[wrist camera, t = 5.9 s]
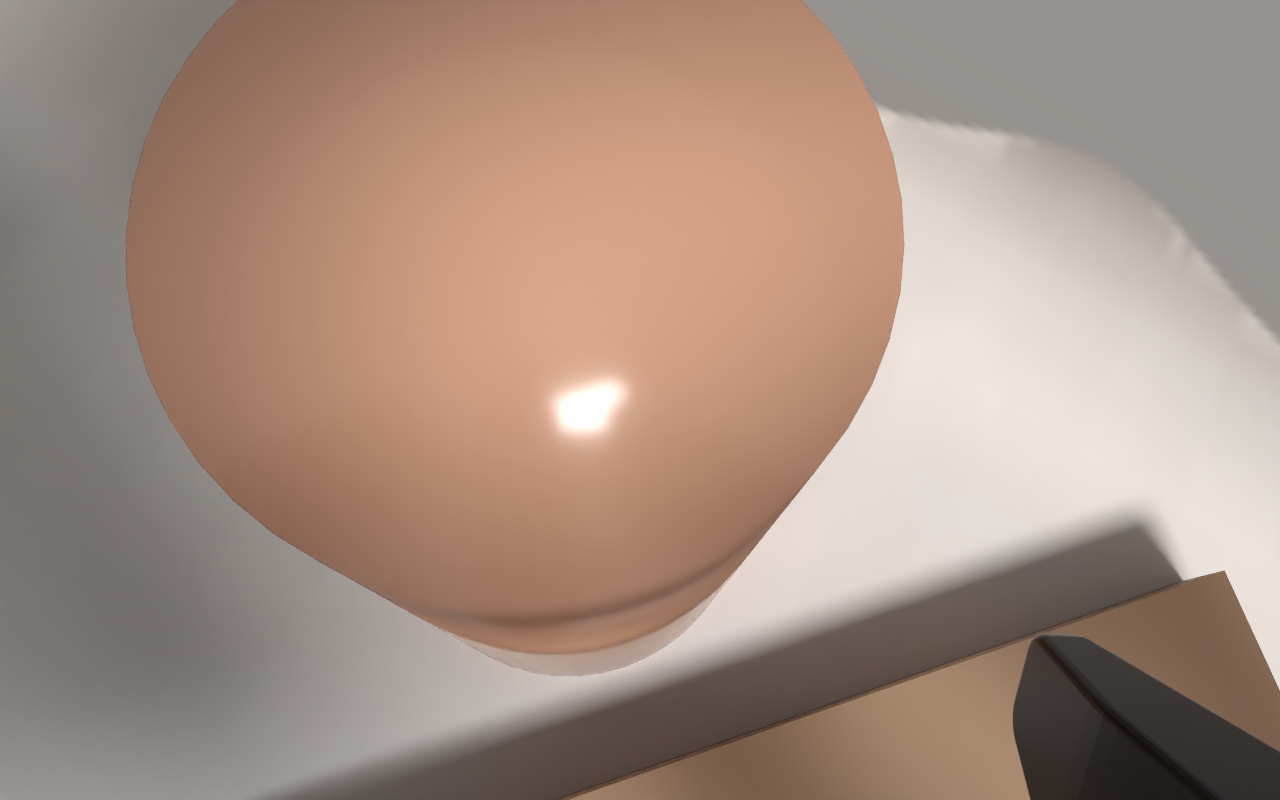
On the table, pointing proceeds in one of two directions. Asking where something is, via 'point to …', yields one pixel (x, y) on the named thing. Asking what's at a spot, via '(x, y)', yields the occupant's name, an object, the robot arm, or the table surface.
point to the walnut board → (972, 714)
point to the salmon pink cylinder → (517, 296)
